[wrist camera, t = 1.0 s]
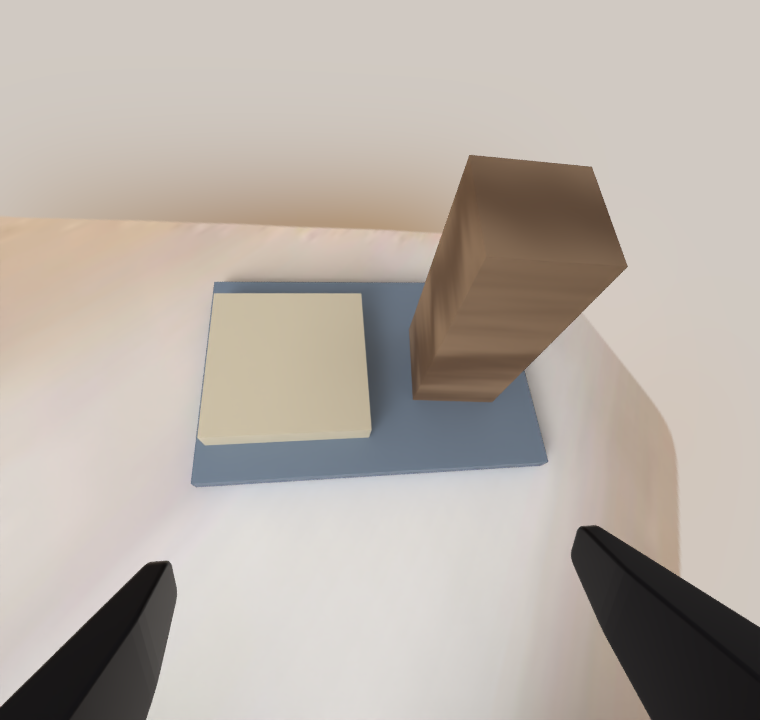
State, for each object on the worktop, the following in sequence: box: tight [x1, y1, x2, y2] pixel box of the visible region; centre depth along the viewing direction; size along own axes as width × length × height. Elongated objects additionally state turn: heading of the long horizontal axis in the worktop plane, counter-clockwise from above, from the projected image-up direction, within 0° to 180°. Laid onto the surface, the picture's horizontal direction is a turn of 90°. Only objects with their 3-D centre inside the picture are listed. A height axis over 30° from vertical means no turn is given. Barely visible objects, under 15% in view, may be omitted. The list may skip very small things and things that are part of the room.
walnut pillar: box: [409, 155, 628, 402], centre depth 21 cm, size 5×5×13 cm
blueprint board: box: [191, 282, 548, 487], centre depth 25 cm, size 20×13×2 cm, turn 95°
